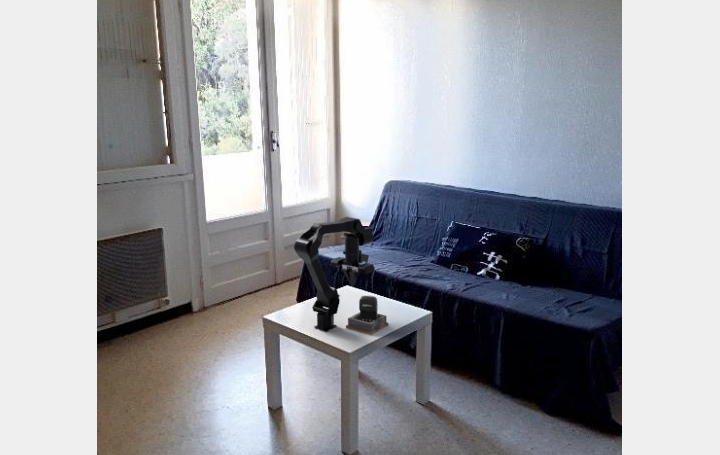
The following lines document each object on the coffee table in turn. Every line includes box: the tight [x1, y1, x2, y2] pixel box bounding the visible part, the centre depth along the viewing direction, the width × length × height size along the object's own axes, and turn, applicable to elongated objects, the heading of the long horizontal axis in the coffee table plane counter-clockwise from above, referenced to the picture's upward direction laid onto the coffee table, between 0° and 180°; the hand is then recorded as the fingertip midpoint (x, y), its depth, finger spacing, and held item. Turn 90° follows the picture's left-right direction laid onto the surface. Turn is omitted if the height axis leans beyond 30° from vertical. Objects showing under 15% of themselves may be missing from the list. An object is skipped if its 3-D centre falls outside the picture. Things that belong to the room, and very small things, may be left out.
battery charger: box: [358, 294, 379, 323], centre depth 225 cm, size 7×4×11 cm, turn 76°
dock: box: [345, 311, 390, 336], centre depth 227 cm, size 12×12×4 cm
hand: (352, 285), depth 235 cm, fingers closed
